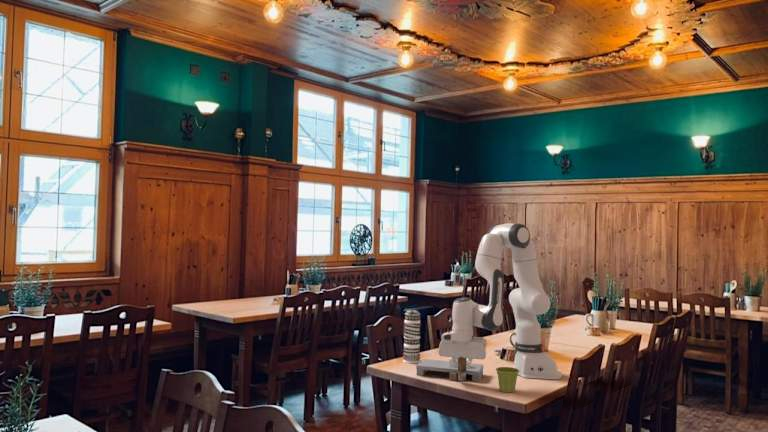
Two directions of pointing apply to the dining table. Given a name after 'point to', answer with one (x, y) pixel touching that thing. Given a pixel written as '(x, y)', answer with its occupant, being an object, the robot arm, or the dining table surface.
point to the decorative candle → (412, 337)
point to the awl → (462, 369)
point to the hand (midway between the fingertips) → (462, 368)
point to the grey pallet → (448, 369)
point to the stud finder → (456, 361)
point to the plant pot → (507, 378)
